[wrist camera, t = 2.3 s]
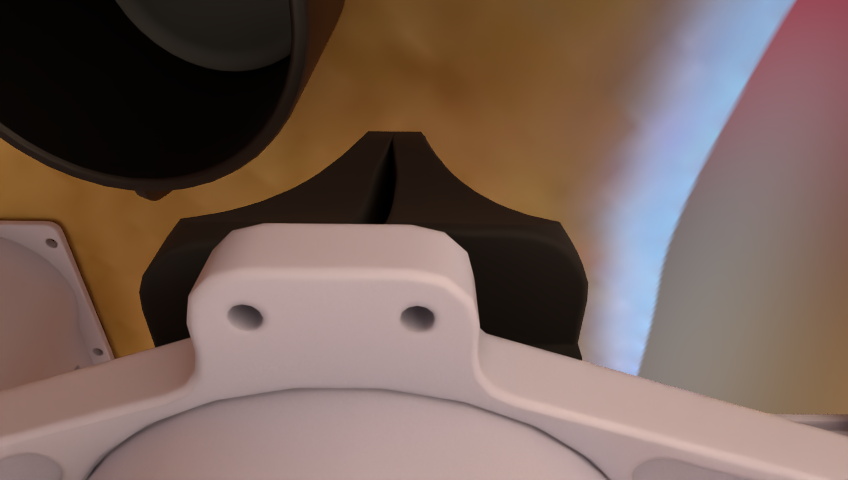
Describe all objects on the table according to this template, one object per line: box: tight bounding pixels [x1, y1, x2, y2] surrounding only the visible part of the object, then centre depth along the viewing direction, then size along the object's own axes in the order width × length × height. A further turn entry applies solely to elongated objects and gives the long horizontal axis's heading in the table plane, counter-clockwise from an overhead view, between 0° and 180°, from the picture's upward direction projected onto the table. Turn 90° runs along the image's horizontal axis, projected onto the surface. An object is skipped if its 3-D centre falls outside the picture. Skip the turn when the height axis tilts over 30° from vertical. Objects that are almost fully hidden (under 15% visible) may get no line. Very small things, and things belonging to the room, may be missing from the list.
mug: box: [0, 0, 345, 201], centre depth 17 cm, size 9×12×9 cm
